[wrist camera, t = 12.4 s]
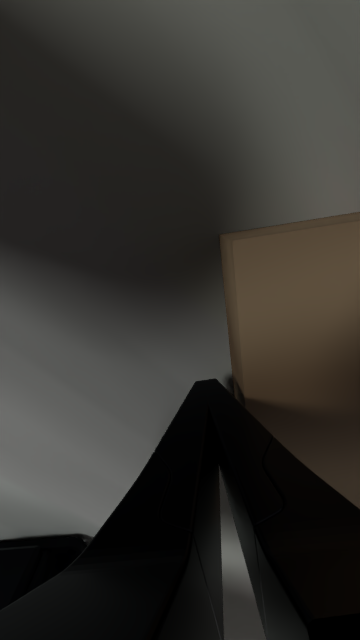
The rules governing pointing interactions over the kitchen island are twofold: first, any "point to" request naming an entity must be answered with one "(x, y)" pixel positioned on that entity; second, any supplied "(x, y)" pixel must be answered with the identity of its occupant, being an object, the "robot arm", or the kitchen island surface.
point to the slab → (300, 339)
